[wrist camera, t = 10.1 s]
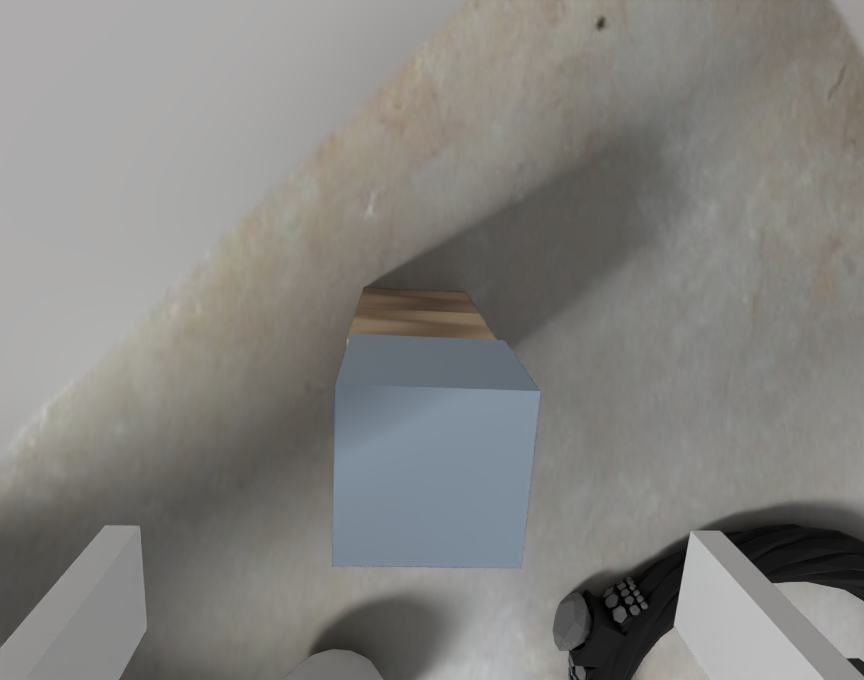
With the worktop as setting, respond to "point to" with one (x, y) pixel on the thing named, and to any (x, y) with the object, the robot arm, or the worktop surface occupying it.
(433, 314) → the tower upper block
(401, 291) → the tower lower block
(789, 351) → the worktop surface
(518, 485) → the slate block
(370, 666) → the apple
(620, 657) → the ring
